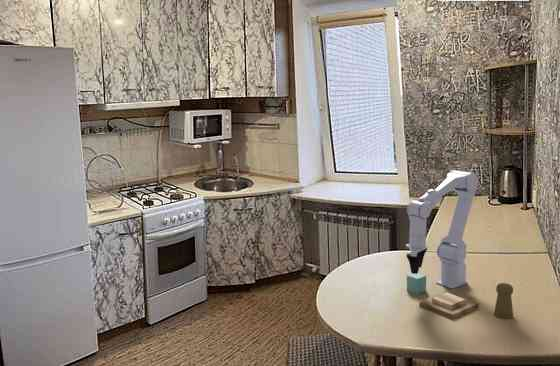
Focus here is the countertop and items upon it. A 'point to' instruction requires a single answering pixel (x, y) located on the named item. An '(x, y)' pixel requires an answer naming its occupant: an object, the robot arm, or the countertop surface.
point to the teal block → (416, 283)
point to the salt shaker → (504, 301)
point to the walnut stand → (448, 305)
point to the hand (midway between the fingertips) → (416, 270)
